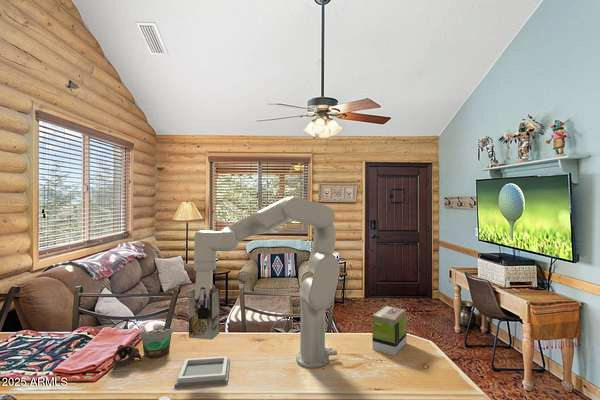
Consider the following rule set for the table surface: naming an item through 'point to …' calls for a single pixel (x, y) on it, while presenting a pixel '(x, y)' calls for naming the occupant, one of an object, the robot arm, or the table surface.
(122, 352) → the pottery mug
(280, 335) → the table surface
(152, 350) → the food container
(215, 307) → the coffee box
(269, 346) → the table surface
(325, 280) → the robot arm
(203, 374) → the board
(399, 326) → the tea box
